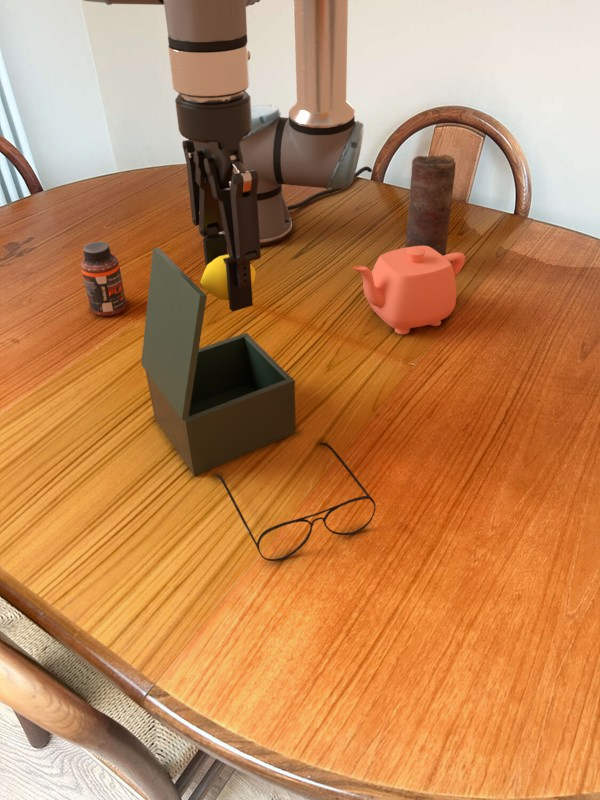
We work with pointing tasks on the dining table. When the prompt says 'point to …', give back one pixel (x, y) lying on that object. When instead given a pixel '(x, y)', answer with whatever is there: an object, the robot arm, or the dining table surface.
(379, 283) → the teapot
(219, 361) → the chest
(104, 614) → the dining table surface
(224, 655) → the dining table surface
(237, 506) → the glasses
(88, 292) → the supplement bottle
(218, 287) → the lemon
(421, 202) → the candle
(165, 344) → the lid
